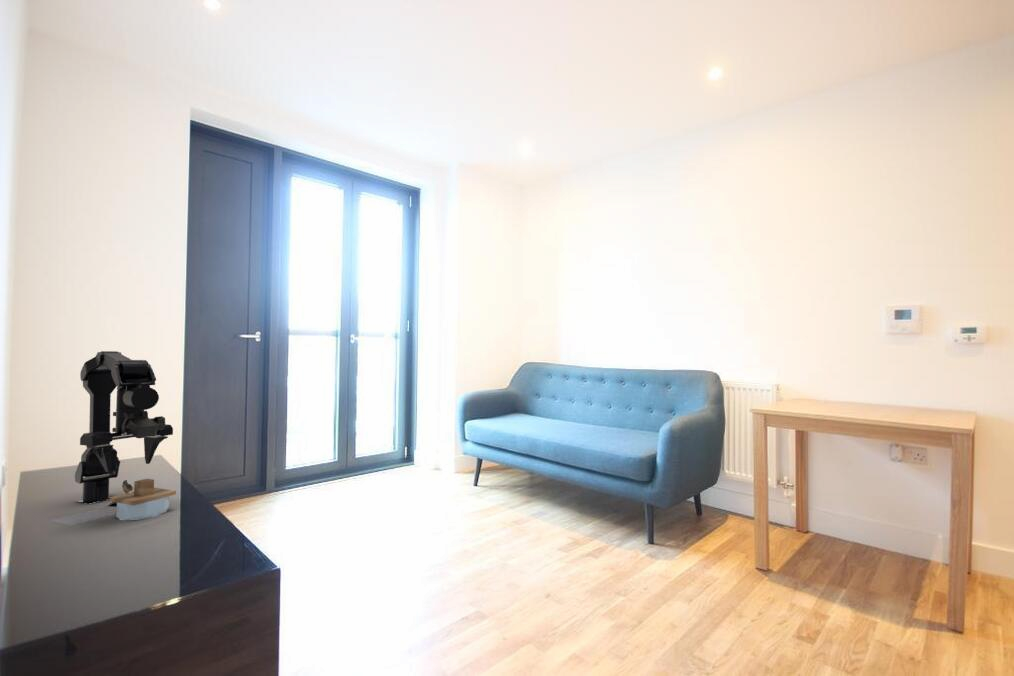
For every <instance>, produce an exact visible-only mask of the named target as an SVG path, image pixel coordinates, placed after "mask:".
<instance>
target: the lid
mask: <svg viewBox="0 0 1014 676" xmlns="http://www.w3.org/2000/svg"><path fill="white" fill-rule="evenodd" d="M133 483H134V484H133V489H134V491H133V492H131V493H127V494H126V493H124V494H119V495H115V496H112V497H110V499H109V501H110V503H111V502H117V503H122V504H128V505H137V504H141V503H145V502H149V501H153V500H157V499H161V498H165V497H168V496H169V497H171V496H176V495H177V490H174V489H167V488H166V489H165V488H159V487H155V479H151V478H143V479H139V480H136V481H133ZM117 503H116V504H117Z"/></svg>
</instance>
